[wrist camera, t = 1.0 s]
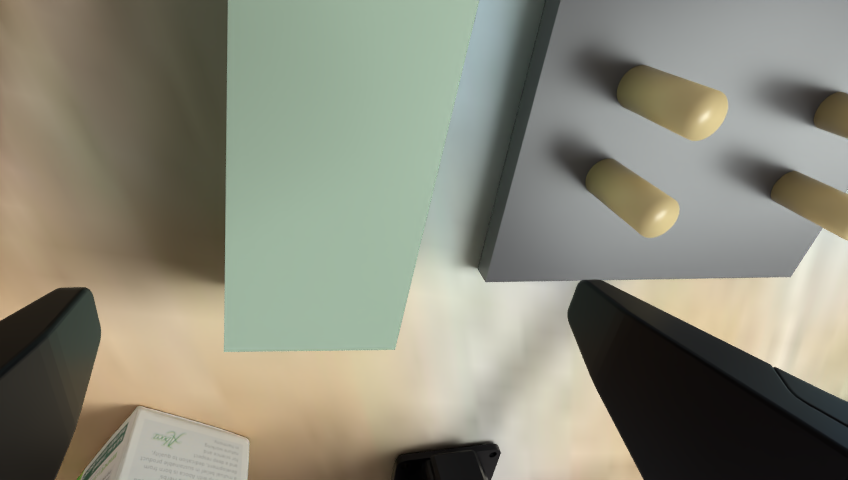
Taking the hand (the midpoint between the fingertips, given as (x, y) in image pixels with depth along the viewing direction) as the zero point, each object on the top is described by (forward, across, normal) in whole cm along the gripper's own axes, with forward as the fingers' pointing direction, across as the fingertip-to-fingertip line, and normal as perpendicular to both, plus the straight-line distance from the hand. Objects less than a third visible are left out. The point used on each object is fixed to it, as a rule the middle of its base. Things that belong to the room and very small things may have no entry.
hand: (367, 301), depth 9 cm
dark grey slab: (+10, -16, -1) cm, 19 cm away
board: (+10, 0, 0) cm, 10 cm away
